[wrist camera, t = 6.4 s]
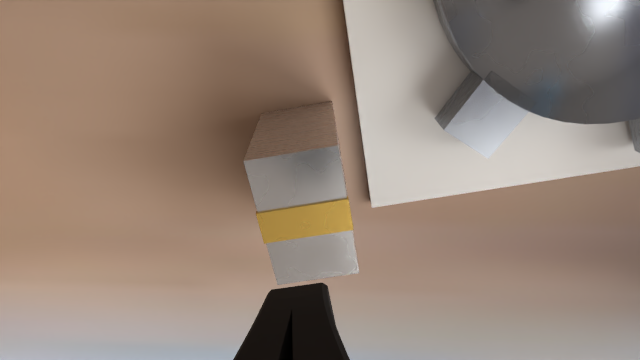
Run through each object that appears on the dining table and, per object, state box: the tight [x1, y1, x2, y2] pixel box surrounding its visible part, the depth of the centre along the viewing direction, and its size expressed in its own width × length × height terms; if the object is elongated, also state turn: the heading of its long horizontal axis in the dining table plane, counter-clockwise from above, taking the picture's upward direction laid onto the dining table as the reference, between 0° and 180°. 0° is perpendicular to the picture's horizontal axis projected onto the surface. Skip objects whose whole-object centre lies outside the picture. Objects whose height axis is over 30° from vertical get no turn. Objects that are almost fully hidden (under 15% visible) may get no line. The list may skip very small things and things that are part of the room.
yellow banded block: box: [243, 101, 359, 285], centre depth 16 cm, size 5×3×5 cm, turn 10°
